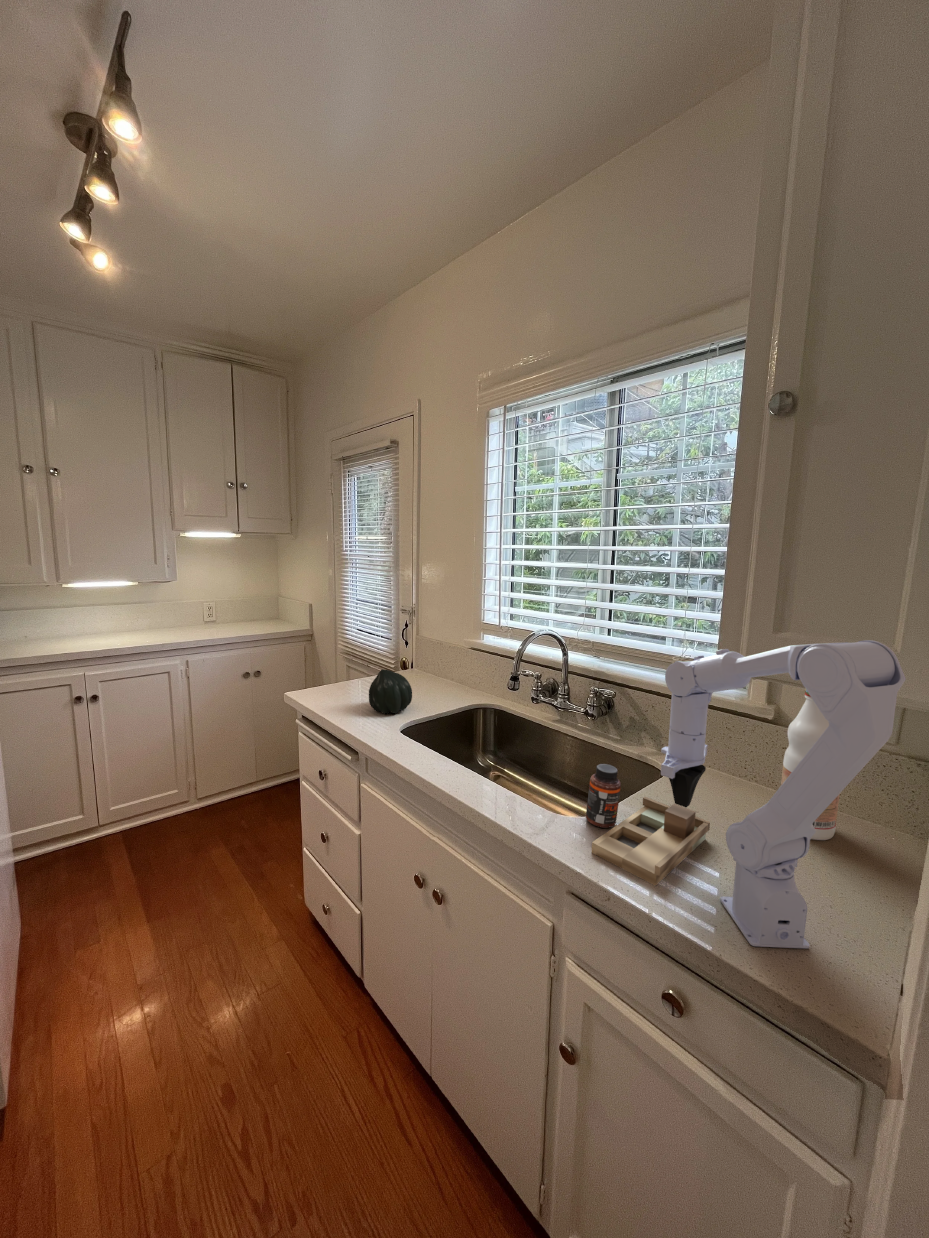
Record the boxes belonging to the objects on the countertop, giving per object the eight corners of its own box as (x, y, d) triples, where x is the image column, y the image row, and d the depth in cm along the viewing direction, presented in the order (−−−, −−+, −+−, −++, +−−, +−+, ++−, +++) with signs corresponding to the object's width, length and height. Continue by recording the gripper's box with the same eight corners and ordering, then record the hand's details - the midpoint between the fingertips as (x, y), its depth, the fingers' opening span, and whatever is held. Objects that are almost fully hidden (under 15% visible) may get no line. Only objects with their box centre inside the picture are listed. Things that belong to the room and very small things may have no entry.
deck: (658, 887, 80) (659, 866, 79) (589, 851, 89) (590, 832, 89) (708, 839, 94) (710, 821, 93) (643, 812, 103) (644, 796, 103)
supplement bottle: (605, 833, 95) (612, 778, 94) (579, 819, 99) (585, 766, 98) (621, 822, 99) (628, 769, 98) (595, 809, 104) (601, 758, 102)
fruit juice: (768, 823, 99) (782, 688, 96) (790, 811, 105) (804, 682, 101) (821, 847, 92) (839, 700, 88) (843, 832, 97) (860, 693, 93)
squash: (427, 694, 167) (403, 658, 171) (399, 707, 155) (373, 668, 158) (403, 715, 174) (381, 680, 178) (374, 729, 162) (351, 691, 165)
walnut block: (685, 839, 90) (686, 819, 89) (663, 830, 93) (665, 810, 92) (694, 831, 93) (695, 811, 92) (672, 823, 96) (674, 803, 95)
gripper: (681, 715, 93) (677, 783, 95) (645, 733, 83) (640, 809, 85) (721, 724, 88) (715, 796, 90) (688, 745, 78) (682, 826, 80)
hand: (682, 804), depth 87 cm, fingers closed
